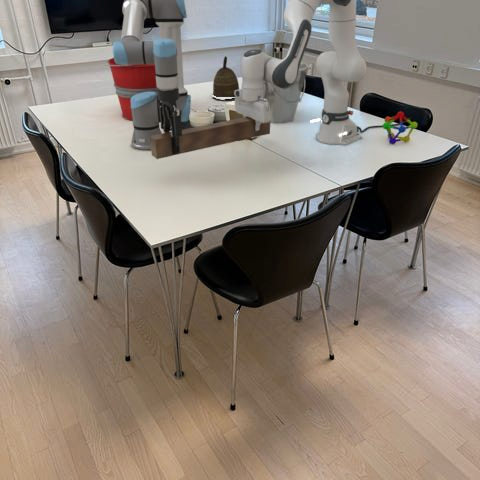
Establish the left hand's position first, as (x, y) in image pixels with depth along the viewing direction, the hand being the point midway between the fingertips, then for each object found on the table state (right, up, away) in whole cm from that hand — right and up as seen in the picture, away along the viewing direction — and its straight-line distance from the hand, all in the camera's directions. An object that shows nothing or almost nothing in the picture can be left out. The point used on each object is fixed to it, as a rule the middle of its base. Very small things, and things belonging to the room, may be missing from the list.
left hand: (172, 151), depth 167 cm
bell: (+17, +57, +115) cm, 129 cm away
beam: (+15, +5, +9) cm, 18 cm away
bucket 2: (+46, +34, +77) cm, 96 cm away
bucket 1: (-28, +37, +82) cm, 94 cm away
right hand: (+30, +13, +17) cm, 37 cm away
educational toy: (+100, +13, +44) cm, 110 cm away
